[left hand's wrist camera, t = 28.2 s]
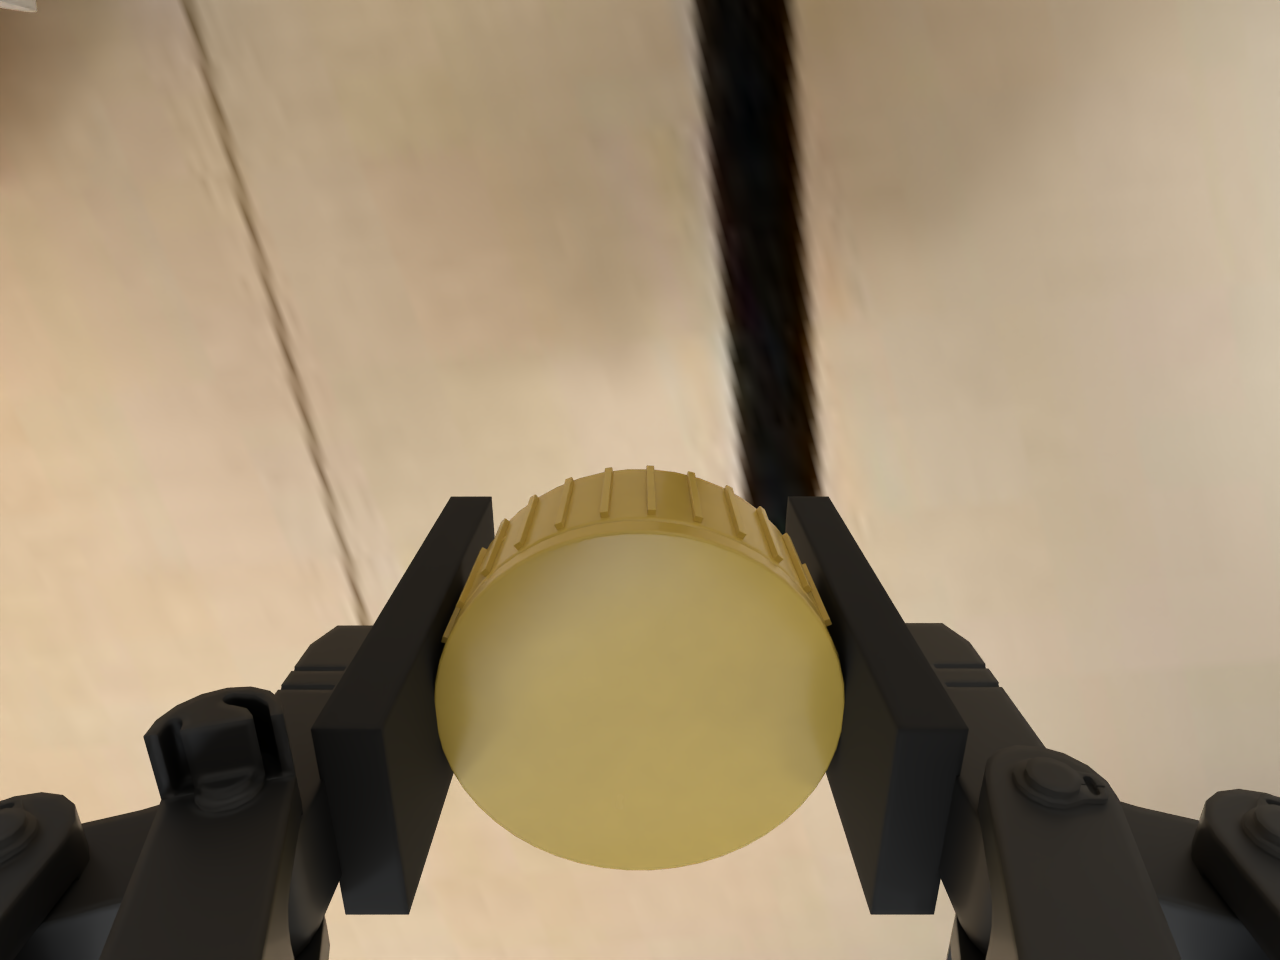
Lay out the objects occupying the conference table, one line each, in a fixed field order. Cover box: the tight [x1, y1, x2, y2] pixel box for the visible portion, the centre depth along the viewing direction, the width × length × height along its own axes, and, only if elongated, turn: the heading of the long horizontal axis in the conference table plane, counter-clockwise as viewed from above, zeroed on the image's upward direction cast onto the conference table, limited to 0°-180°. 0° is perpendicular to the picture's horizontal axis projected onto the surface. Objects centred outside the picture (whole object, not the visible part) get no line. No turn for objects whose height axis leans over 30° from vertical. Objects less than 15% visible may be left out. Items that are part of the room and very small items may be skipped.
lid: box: [434, 466, 845, 870], centre depth 11 cm, size 6×6×2 cm
